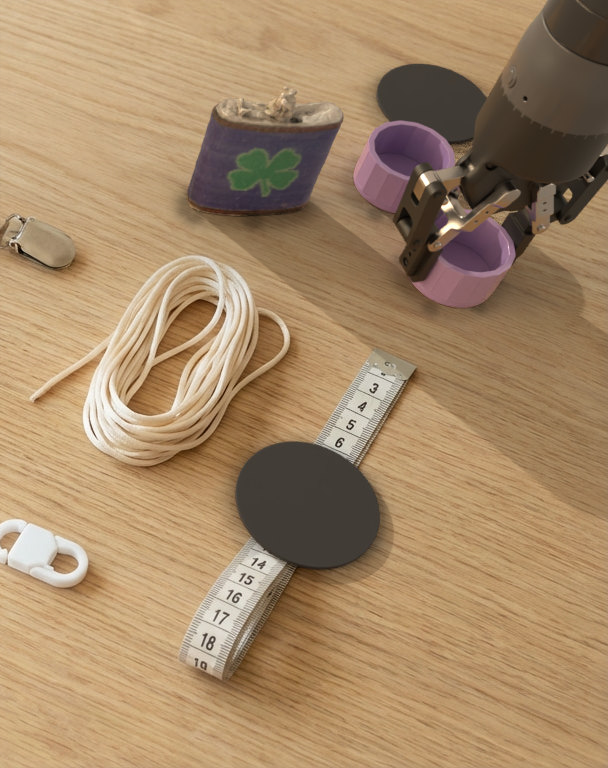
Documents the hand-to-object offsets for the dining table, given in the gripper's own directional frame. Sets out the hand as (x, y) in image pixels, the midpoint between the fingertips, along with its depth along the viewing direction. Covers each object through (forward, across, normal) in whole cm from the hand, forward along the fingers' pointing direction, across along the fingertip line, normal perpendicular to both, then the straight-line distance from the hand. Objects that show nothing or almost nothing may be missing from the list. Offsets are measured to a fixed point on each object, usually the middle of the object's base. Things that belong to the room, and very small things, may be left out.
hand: (455, 264), depth 87 cm
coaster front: (+1, -18, -15) cm, 24 cm away
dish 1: (+1, 0, +9) cm, 9 cm away
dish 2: (+1, 0, 0) cm, 1 cm away
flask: (+1, -12, +10) cm, 15 cm away
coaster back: (+1, +7, +16) cm, 18 cm away
